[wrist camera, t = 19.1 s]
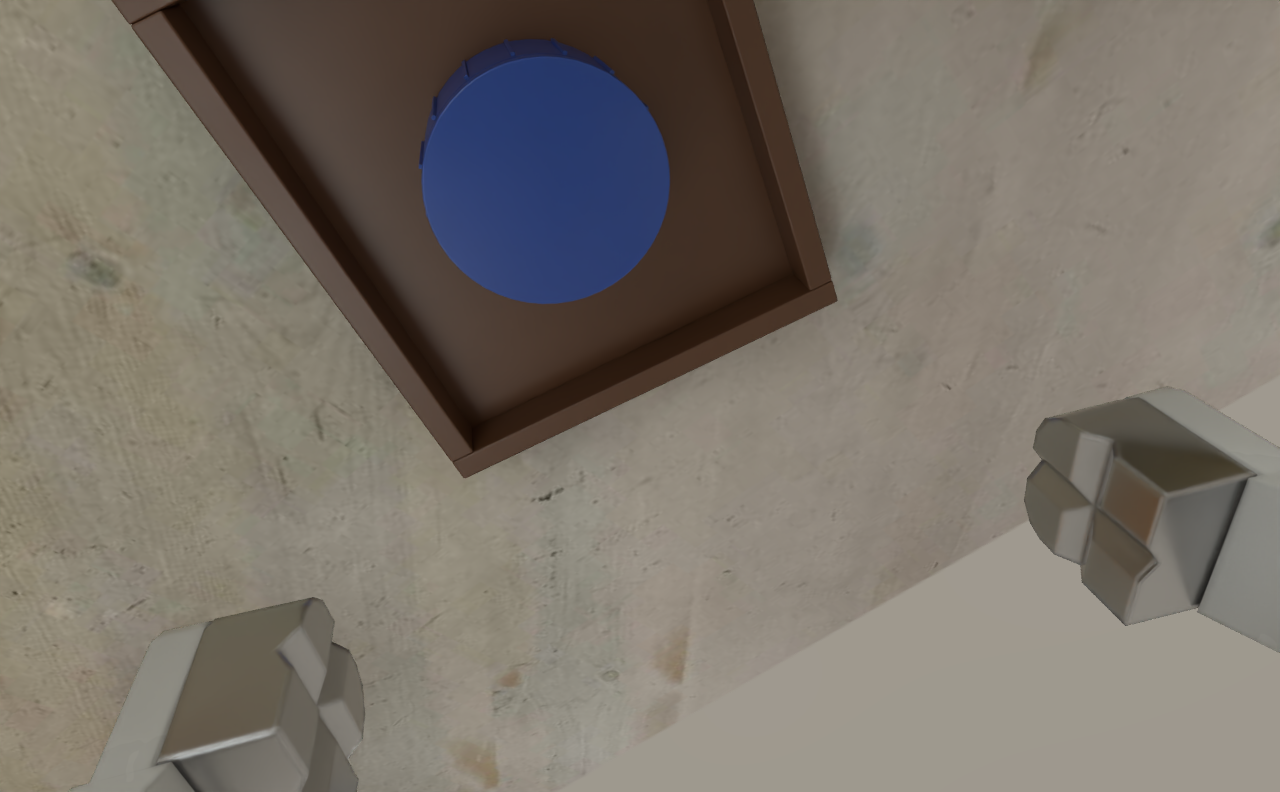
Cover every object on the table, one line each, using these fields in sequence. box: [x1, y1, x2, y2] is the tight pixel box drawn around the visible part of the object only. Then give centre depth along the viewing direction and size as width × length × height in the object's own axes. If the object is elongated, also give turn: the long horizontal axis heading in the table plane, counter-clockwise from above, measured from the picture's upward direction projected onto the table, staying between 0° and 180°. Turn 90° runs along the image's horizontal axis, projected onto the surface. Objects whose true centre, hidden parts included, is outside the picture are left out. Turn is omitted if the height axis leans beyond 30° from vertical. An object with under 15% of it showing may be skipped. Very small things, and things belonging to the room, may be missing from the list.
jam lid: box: [419, 38, 670, 304], centre depth 20 cm, size 6×6×3 cm
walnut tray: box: [112, 0, 837, 478], centre depth 21 cm, size 16×14×2 cm
